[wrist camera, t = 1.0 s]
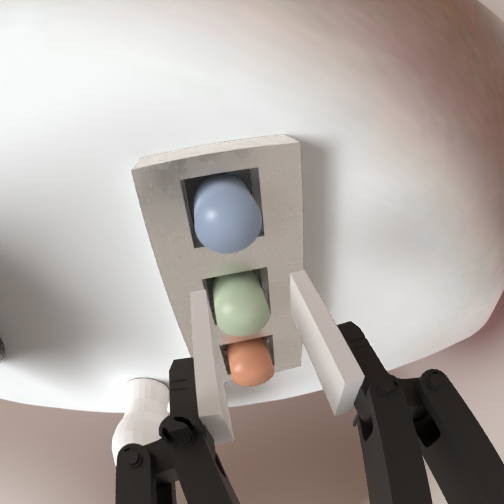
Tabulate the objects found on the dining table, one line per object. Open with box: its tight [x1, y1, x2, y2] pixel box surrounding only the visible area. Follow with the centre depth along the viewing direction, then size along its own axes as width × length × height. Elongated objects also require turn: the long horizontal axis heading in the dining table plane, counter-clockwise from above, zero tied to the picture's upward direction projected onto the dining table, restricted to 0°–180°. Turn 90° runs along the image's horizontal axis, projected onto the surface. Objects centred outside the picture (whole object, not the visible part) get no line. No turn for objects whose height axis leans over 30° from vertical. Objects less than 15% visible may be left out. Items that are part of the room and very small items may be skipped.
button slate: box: [194, 174, 262, 254], centre depth 24 cm, size 5×5×5 cm
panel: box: [131, 134, 303, 383], centre depth 32 cm, size 14×30×4 cm, turn 6°
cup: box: [112, 378, 169, 464], centre depth 37 cm, size 11×11×15 cm
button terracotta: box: [226, 337, 274, 386], centre depth 35 cm, size 5×5×5 cm
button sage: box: [212, 270, 270, 336], centre depth 29 cm, size 5×5×5 cm
